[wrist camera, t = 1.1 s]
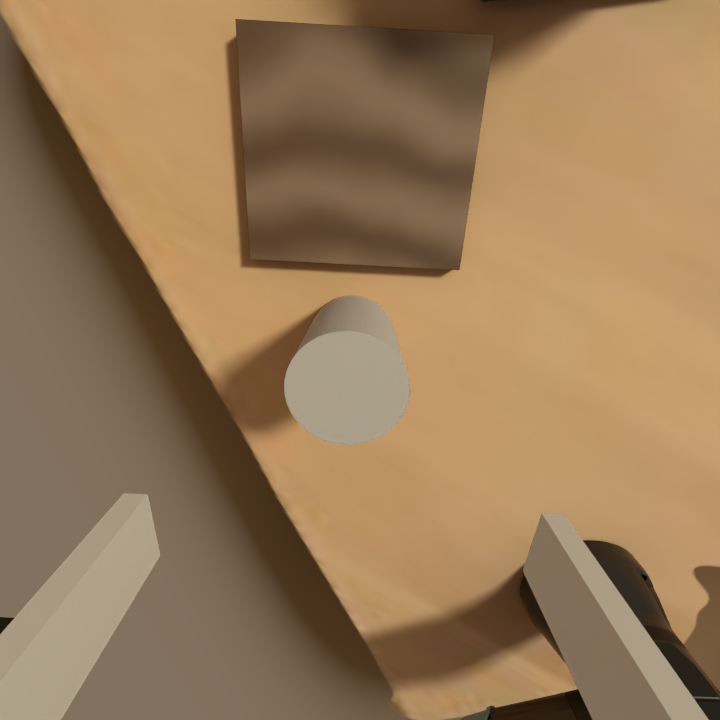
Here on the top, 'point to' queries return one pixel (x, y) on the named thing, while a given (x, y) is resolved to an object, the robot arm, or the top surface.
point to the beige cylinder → (348, 374)
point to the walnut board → (359, 141)
